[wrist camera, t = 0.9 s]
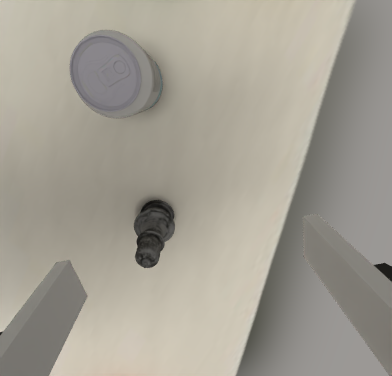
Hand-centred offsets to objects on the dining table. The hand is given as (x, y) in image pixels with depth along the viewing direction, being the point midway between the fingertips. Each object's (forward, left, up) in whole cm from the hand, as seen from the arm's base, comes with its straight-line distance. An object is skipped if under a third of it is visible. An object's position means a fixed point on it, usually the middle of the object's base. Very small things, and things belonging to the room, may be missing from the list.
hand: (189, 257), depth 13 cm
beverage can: (-9, +8, -22) cm, 25 cm away
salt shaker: (-2, -10, -22) cm, 25 cm away
